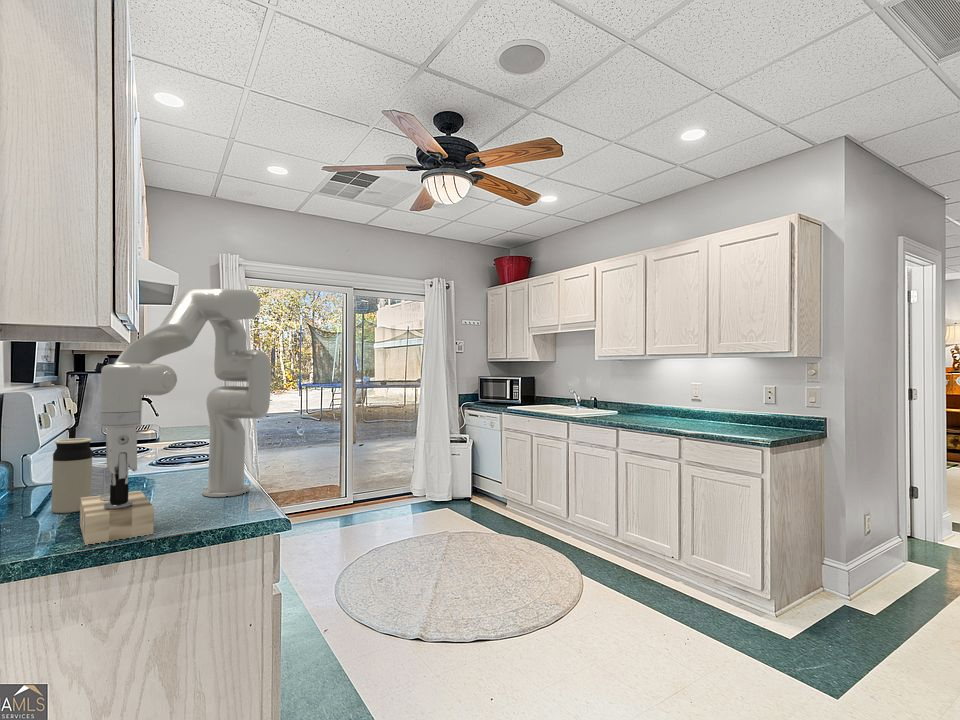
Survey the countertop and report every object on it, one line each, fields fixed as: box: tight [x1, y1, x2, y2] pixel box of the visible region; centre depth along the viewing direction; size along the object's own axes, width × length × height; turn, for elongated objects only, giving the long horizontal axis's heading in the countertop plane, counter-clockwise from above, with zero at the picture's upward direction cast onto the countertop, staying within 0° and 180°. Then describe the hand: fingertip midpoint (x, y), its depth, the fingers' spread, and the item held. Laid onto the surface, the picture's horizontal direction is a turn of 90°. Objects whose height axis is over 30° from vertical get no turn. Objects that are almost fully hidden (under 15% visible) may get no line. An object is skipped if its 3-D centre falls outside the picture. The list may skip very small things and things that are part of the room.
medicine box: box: [91, 462, 111, 496], centre depth 149 cm, size 8×4×9 cm, turn 77°
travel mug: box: [50, 437, 93, 514], centre depth 133 cm, size 8×8×18 cm
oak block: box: [79, 490, 155, 546], centre depth 118 cm, size 20×12×6 cm, turn 40°
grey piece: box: [104, 500, 133, 510], centre depth 114 cm, size 5×5×7 cm
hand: (118, 502), depth 114 cm, fingers closed
